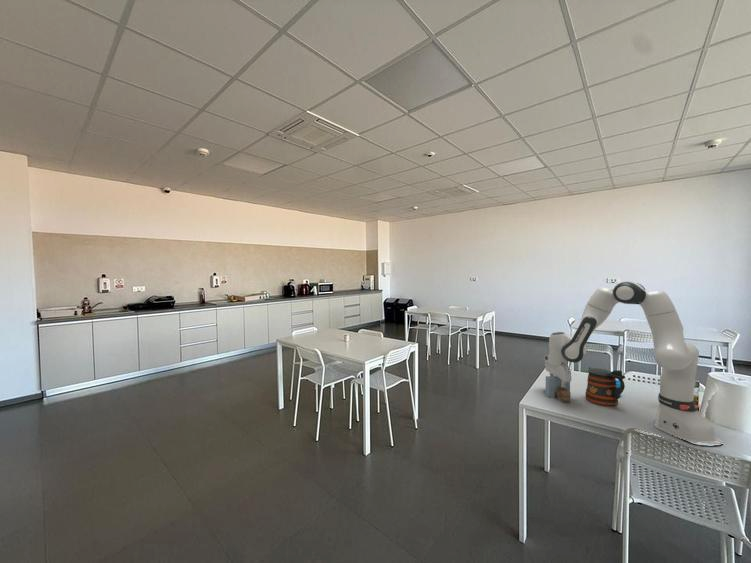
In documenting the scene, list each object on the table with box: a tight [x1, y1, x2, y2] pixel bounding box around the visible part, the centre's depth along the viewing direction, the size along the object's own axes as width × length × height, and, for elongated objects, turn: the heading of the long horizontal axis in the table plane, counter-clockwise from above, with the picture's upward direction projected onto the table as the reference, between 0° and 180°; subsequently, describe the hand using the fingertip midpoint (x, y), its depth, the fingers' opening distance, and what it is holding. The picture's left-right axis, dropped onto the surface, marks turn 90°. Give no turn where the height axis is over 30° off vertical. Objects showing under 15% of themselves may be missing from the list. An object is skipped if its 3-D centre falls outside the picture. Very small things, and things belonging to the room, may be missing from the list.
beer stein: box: [585, 367, 626, 407], centre depth 167 cm, size 19×15×20 cm
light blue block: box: [545, 375, 571, 398], centre depth 176 cm, size 12×4×11 cm, turn 89°
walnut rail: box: [555, 387, 571, 404], centre depth 177 cm, size 18×4×6 cm, turn 179°
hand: (557, 383), depth 176 cm, fingers open, 8 cm apart
